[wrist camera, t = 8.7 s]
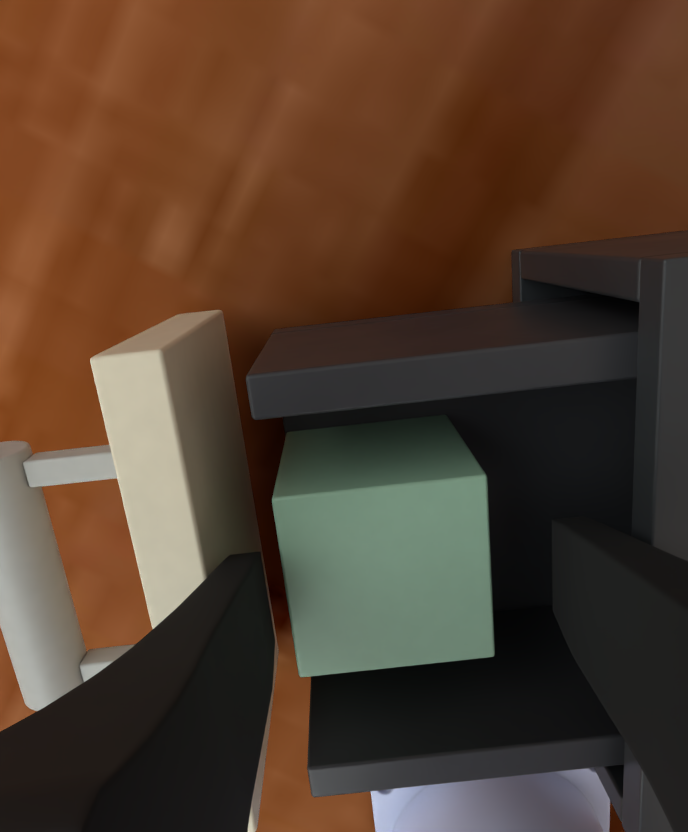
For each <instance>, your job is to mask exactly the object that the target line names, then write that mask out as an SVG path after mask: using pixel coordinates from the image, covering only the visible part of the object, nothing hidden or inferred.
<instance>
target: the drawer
mask: <svg viewBox="0 0 688 832" xmlns="http://www.w3.org/2000/svg"><path fill="white" fill-rule="evenodd" d="M638 328H639V302H635V301H630V300H625V299H620V298H615V297H610V296H605V295H600V294H595V293H594V294H585V295H576V296H567V297H558V298H549V299H541V300H532V301H523V302H514V303H505V304H496V305H487V306H478V307H469V308H460V309H451V310H442V311H433V312H424V313H415V314H406V315H397V316H388V317H379V318H370V319H361V320H352V321H343V322H334V323H325V324H316V325H307V326H299V327H290V328H281V329H275V330H274V331H273V332H272V334H271V336H270V338H269V339H268V341H267V343H266V344H265V346H264V347H263V349H262V351H261V352H260V354H259V356H258V357H257V359H256V361H255V362H254V364H253V366H252V367H251V369H250V371H249V372H248V374H247V376H246V385H247V391H248V397H249V403H250V410H251V416H252V418H253V419H255V420H261V419H271V418H280V417H283V424H284V431H285V437H286V433H287V432H292V431H301V430H311V429H320V428H329V427H338V426H347V425H356V424H365V423H374V422H383V421H392V420H401V419H410V418H419V417H428V416H438V415H447V417H448V418H449V420H450V421H451V423H452V424H453V426H454V427H455V429H456V430H457V432H458V433H459V435H460V436H461V438H462V439H463V441H464V442H465V444H466V445H467V447H468V448H469V450H470V451H471V453H472V454H473V456H474V457H475V459H476V460H477V462H478V463H479V465H480V466H481V468H482V469H483V471H484V472H485V474H486V475H487V479H488V503H489V527H490V551H491V574H492V598H493V622H494V646H495V655H494V656H493V657H488V658H478V659H469V660H460V661H450V662H441V663H432V664H422V665H413V666H404V667H394V668H385V669H376V670H366V671H357V672H348V673H338V674H329V675H320V676H311V692H310V716H309V741H308V766H307V769H308V776H309V782H310V788H311V794H312V796H313V797H322V796H331V795H341V794H350V793H360V792H369V791H379V790H388V789H397V788H407V787H416V786H426V785H435V784H445V783H454V782H464V781H473V780H482V779H492V778H501V777H511V776H520V775H530V774H539V773H549V772H558V771H568V770H577V769H586V768H596V767H605V766H615V765H624V750H625V741H624V739H623V737H622V736H621V734H620V732H619V731H618V729H617V728H616V726H615V724H614V723H613V721H612V719H611V718H610V716H609V715H608V713H607V711H606V710H605V708H604V707H603V705H602V703H601V702H600V700H599V698H598V697H597V695H596V694H595V692H594V690H593V689H592V687H591V685H590V684H589V682H588V680H587V679H586V677H585V676H584V674H583V672H582V671H581V669H580V667H579V666H578V664H577V662H576V661H575V659H574V657H573V655H572V653H571V651H570V649H569V647H568V645H567V642H566V640H565V638H564V636H563V634H562V631H561V629H560V626H559V624H558V622H557V619H556V617H555V615H554V612H553V594H552V519H561V518H570V517H579V516H584V517H587V518H590V519H593V520H596V521H598V522H601V523H603V524H605V525H608V526H610V527H612V528H614V529H617V530H619V531H621V532H623V533H625V534H628V535H630V536H632V509H633V479H634V448H635V418H636V388H637V358H638ZM90 363H91V367H92V371H93V376H94V380H95V384H96V389H97V393H98V397H99V401H100V406H101V410H102V414H103V419H104V423H105V427H106V431H107V436H108V440H109V444H110V445H103V446H94V447H85V448H76V449H67V450H58V451H49V452H40V453H35V454H34V455H33V454H32V450H31V446H30V445H29V443H27V442H24V441H7V442H0V626H1V630H2V633H3V636H4V639H5V642H6V645H7V648H8V652H9V655H10V658H11V661H12V664H13V667H14V670H15V674H16V677H17V680H18V683H19V686H20V689H21V692H22V696H23V699H24V702H25V704H26V706H28V707H29V708H30V709H32V710H35V711H39V710H41V709H42V708H44V707H46V706H47V705H49V704H50V703H52V702H53V701H55V700H57V699H58V698H60V697H61V696H63V695H65V694H66V693H68V692H69V691H71V690H72V689H74V688H76V687H77V686H79V685H80V684H82V683H84V682H85V681H87V680H88V679H90V678H91V677H93V676H94V675H96V674H97V673H98V672H100V671H101V670H103V669H104V668H105V667H107V666H108V665H109V664H111V663H112V662H113V661H115V660H116V659H118V658H119V657H120V656H122V655H123V654H124V653H125V652H127V651H128V650H129V649H131V648H132V647H133V646H134V645H135V644H134V645H124V646H115V647H106V648H97V649H90V650H88V652H87V651H86V647H85V644H84V640H83V637H82V633H81V629H80V626H79V622H78V618H77V615H76V611H75V607H74V604H73V600H72V596H71V593H70V589H69V585H68V582H67V578H66V574H65V571H64V567H63V563H62V560H61V556H60V552H59V549H58V545H57V541H56V538H55V534H54V530H53V527H52V523H51V519H50V516H49V512H48V509H47V505H46V501H45V498H44V494H43V490H42V486H51V485H60V484H69V483H78V482H87V481H96V480H106V479H115V478H117V479H118V483H119V487H120V491H121V496H122V500H123V504H124V509H125V513H126V517H127V522H128V526H129V530H130V534H131V539H132V543H133V547H134V552H135V556H136V560H137V564H138V569H139V573H140V577H141V582H142V586H143V590H144V594H145V599H146V603H147V607H148V612H149V616H150V620H151V624H152V629H154V628H155V627H156V626H157V625H158V624H159V623H161V622H162V621H163V620H164V619H165V618H166V617H167V616H168V615H169V614H171V613H172V612H173V611H174V610H175V609H176V608H177V607H178V606H179V605H180V604H181V603H182V602H183V601H184V600H185V599H186V598H187V597H188V596H189V595H190V594H191V593H192V592H193V591H194V590H195V589H196V588H197V587H198V586H199V585H200V584H201V583H202V582H203V581H204V580H205V579H206V578H207V577H208V576H209V575H210V574H211V573H212V572H213V571H214V570H215V569H216V568H217V567H218V566H219V565H220V563H221V562H222V561H223V560H225V559H226V558H227V557H228V556H229V555H232V554H241V553H250V552H261V558H262V564H263V570H264V576H265V582H266V588H267V594H268V600H269V606H270V612H271V618H272V624H273V630H274V636H275V654H274V673H273V688H272V694H271V700H270V705H269V711H268V716H267V722H266V727H265V733H264V738H263V743H262V749H261V754H260V760H259V765H258V770H257V776H256V781H255V786H254V792H253V797H252V803H251V810H250V817H249V824H248V832H255V831H256V829H257V826H258V817H259V809H260V801H261V793H262V784H263V776H264V768H265V760H266V752H267V743H268V735H269V727H270V719H271V711H272V702H273V694H274V686H275V678H276V670H277V661H278V653H279V650H278V644H277V638H276V632H275V626H274V620H273V613H272V607H271V601H270V595H269V589H268V583H267V577H266V571H265V565H264V559H263V553H262V547H261V541H260V534H259V528H258V522H257V516H256V510H255V504H254V498H253V492H252V486H251V480H250V474H249V468H248V462H247V456H246V449H245V443H244V437H243V431H242V425H241V419H240V413H239V407H238V401H237V395H236V389H235V383H234V377H233V370H232V364H231V358H230V352H229V346H228V340H227V334H226V328H225V322H224V316H223V312H222V310H212V311H203V312H194V313H185V314H178V315H176V316H174V317H172V318H170V319H168V320H166V321H164V322H162V323H160V324H157V325H155V326H153V327H151V328H149V329H147V330H145V331H143V332H141V333H139V334H137V335H135V336H133V337H131V338H129V339H127V340H125V341H123V342H121V343H119V344H117V345H115V346H113V347H111V348H109V349H107V350H105V351H103V352H101V353H99V354H97V355H95V356H93V357H91V360H90Z"/></svg>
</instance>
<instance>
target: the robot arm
mask: <svg viewBox="0 0 688 832" xmlns="http://www.w3.org/2000/svg"><path fill="white" fill-rule="evenodd" d="M552 594H553V612H554V615H555V617H556V619H557V622H558V624H559V626H560V629H561V631H562V634H563V636H564V638H565V640H566V642H567V645H568V647H569V649H570V651H571V653H572V655H573V657H574V659H575V661H576V662H577V664H578V666H579V667H580V669H581V671H582V672H583V674H584V676H585V677H586V679H587V680H588V682H589V684H590V685H591V687H592V689H593V690H594V692H595V694H596V695H597V697H598V698H599V700H600V702H601V703H602V705H603V707H604V708H605V710H606V711H607V713H608V715H609V716H610V718H611V719H612V721H613V723H614V724H615V726H616V728H617V729H618V731H619V732H620V734H621V736H622V737H623V739H624V741H625V742H626V744H627V745H628V747H629V749H630V750H631V752H632V753H633V755H634V757H635V758H636V760H637V762H638V764H639V765H640V767H641V769H642V771H643V772H644V774H645V776H646V778H647V780H648V781H649V783H650V785H651V787H652V789H653V791H654V793H655V795H656V797H657V799H658V801H659V803H660V805H661V807H662V809H663V811H664V813H665V815H666V817H667V819H668V821H669V824H670V826H671V828H672V830H673V832H688V561H686V560H684V559H681V558H679V557H677V556H674V555H672V554H670V553H667V552H665V551H663V550H661V549H658V548H656V547H654V546H652V545H650V544H647V543H645V542H643V541H641V540H639V539H636V538H634V537H632V536H630V535H628V534H625V533H623V532H621V531H619V530H617V529H614V528H612V527H610V526H608V525H605V524H603V523H601V522H598V521H596V520H593V519H590V518H587V517H584V516H579V517H570V518H561V519H552ZM274 654H275V636H274V630H273V624H272V618H271V612H270V606H269V600H268V594H267V588H266V582H265V576H264V570H263V564H262V558H261V552H250V553H241V554H232V555H229V556H228V557H227V558H226V559H225V560H223V561H222V562H221V563H220V565H219V566H218V567H217V568H216V569H215V570H214V571H213V572H212V573H211V574H210V575H209V576H208V577H207V578H206V579H205V580H204V581H203V582H202V583H201V584H200V585H199V586H198V587H197V588H196V589H195V590H194V591H193V592H192V593H191V594H190V595H189V596H188V597H187V598H186V599H185V600H184V601H183V602H182V603H181V604H180V605H179V606H178V607H177V608H176V609H175V610H174V611H173V612H172V613H171V614H169V615H168V616H167V617H166V618H165V619H164V620H163V621H162V622H161V623H159V624H158V625H157V626H156V627H155V628H154V629H153V630H152V631H151V632H149V633H148V634H147V635H146V636H145V637H144V638H143V639H142V640H140V641H139V642H138V643H137V644H135V645H134V646H133V647H132V648H131V649H129V650H128V651H127V652H125V653H124V654H123V655H122V656H120V657H119V658H118V659H116V660H115V661H113V662H112V663H111V664H109V665H108V666H107V667H105V668H104V669H103V670H101V671H100V672H98V673H97V674H96V675H94V676H93V677H91V678H90V679H88V680H87V681H85V682H84V683H82V684H80V685H79V686H77V687H76V688H74V689H72V690H71V691H69V692H68V693H66V694H65V695H63V696H61V697H60V698H58V699H57V700H55V701H53V702H52V703H50V704H49V705H47V706H46V707H44V708H42V709H41V710H39V711H37V712H35V713H34V714H32V715H30V716H28V717H27V718H25V719H23V720H21V721H19V722H17V723H16V724H14V725H12V726H10V727H8V728H7V729H5V730H3V731H1V732H0V832H248V824H249V817H250V810H251V803H252V797H253V792H254V786H255V781H256V776H257V770H258V765H259V760H260V754H261V749H262V743H263V738H264V733H265V727H266V722H267V716H268V711H269V705H270V700H271V694H272V688H273V673H274ZM371 798H372V806H373V814H374V822H375V831H376V832H609V829H610V799H609V797H608V795H607V793H606V791H605V789H604V787H603V785H602V783H601V781H600V779H599V777H598V775H597V773H596V771H595V769H594V768H586V769H577V770H568V771H558V772H549V773H539V774H530V775H520V776H511V777H501V778H492V779H482V780H473V781H464V782H454V783H445V784H435V785H426V786H416V787H407V788H397V789H388V790H379V791H371Z"/></svg>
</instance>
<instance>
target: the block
mask: <svg viewBox="0 0 688 832" xmlns="http://www.w3.org/2000/svg"><path fill="white" fill-rule="evenodd" d="M272 506H273V512H274V518H275V525H276V531H277V538H278V544H279V551H280V557H281V564H282V570H283V576H284V583H285V589H286V596H287V602H288V609H289V615H290V622H291V628H292V634H293V641H294V647H295V654H296V660H297V667H298V673H299V676H300V677H310V676H320V675H329V674H338V673H348V672H357V671H366V670H376V669H385V668H394V667H404V666H413V665H422V664H432V663H441V662H450V661H460V660H469V659H478V658H488V657H493V656H494V655H495V646H494V622H493V598H492V574H491V551H490V527H489V503H488V479H487V475H486V474H485V472H484V471H483V469H482V468H481V466H480V465H479V463H478V462H477V460H476V459H475V457H474V456H473V454H472V453H471V451H470V450H469V448H468V447H467V445H466V444H465V442H464V441H463V439H462V438H461V436H460V435H459V433H458V432H457V430H456V429H455V427H454V426H453V424H452V423H451V421H450V420H449V418H448V417H447V415H438V416H428V417H419V418H410V419H401V420H392V421H383V422H374V423H365V424H356V425H347V426H338V427H329V428H320V429H311V430H301V431H292V432H287V433H286V437H285V442H284V447H283V451H282V456H281V460H280V465H279V469H278V474H277V479H276V483H275V488H274V492H273V497H272Z"/></svg>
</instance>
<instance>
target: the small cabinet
mask: <svg viewBox="0 0 688 832" xmlns="http://www.w3.org/2000/svg"><path fill="white" fill-rule="evenodd" d="M511 253H512V290H513V303H514V302H523V301H532V300H541V299H549V298H558V297H567V296H576V295H585V294H594V293H595V294H600V295H605V296H610V297H615V298H620V299H625V300H630V301H635V302H639V328H638V358H637V388H636V418H635V448H634V479H633V509H632V537H634V538H636V539H639V540H641V541H643V542H645V543H647V544H650V545H652V546H654V547H656V548H658V549H661V550H663V551H665V552H667V553H670V554H672V555H674V556H677V557H679V558H681V559H684V560H686V561H688V230H687V231H678V232H669V233H660V234H651V235H642V236H633V237H624V238H615V239H606V240H598V241H589V242H580V243H571V244H562V245H553V246H544V247H535V248H526V249H517V250H512V252H511ZM594 769H595V771H596V773H597V775H598V777H599V779H600V781H601V783H602V785H603V787H604V789H605V791H606V793H607V795H608V797H609V799H610V801H611V803H612V805H613V807H614V809H615V811H616V813H617V815H618V817H619V819H620V821H621V822H622V826H623V828H624V830H625V832H673V830H672V828H671V826H670V824H669V821H668V819H667V817H666V815H665V813H664V811H663V809H662V807H661V805H660V803H659V801H658V799H657V797H656V795H655V793H654V791H653V789H652V787H651V785H650V783H649V781H648V780H647V778H646V776H645V774H644V772H643V771H642V769H641V767H640V765H639V764H638V762H637V760H636V758H635V757H634V755H633V753H632V752H631V750H630V749H629V747H628V745H627V744H626V742H625V750H624V765H615V766H605V767H596V768H594Z"/></svg>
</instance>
